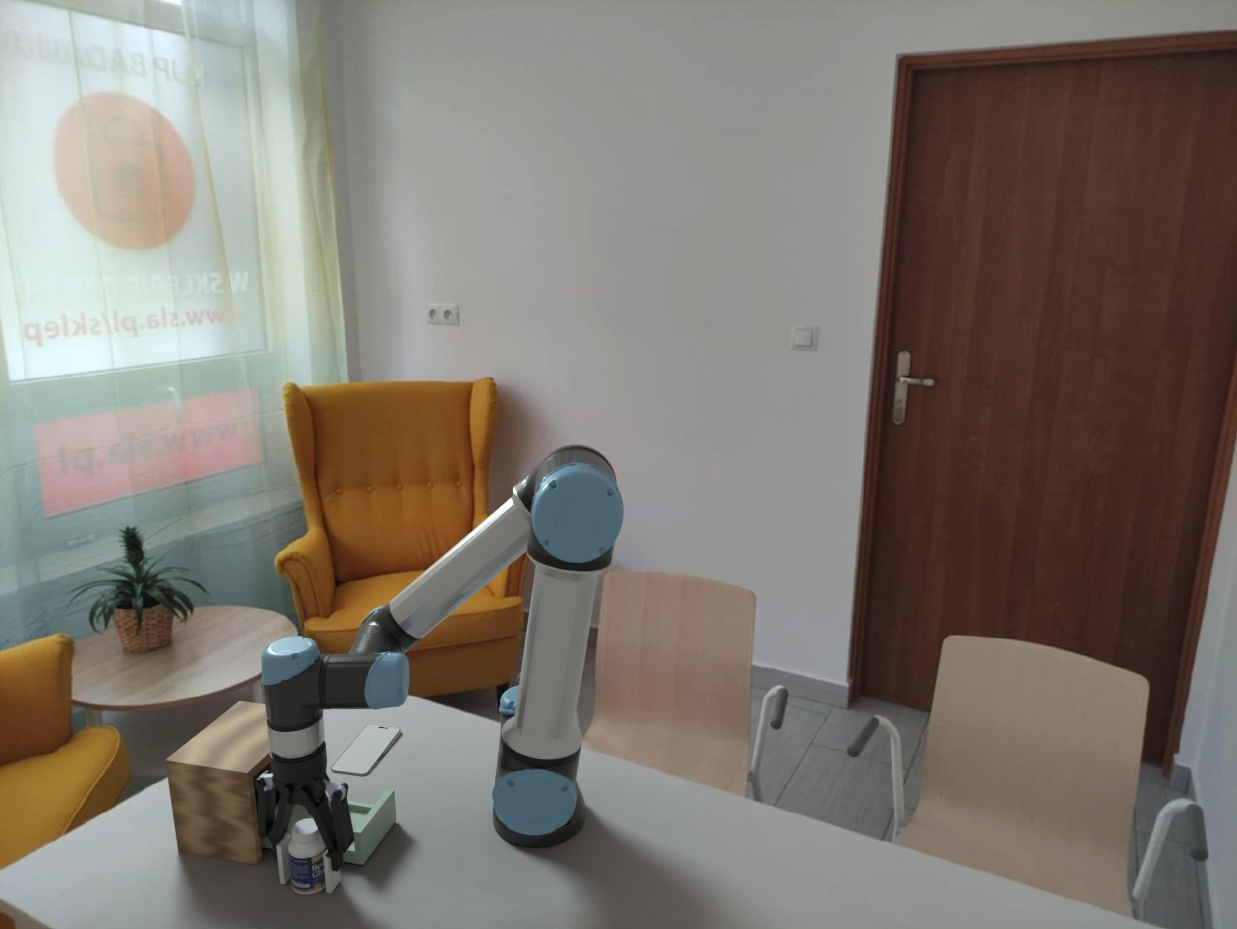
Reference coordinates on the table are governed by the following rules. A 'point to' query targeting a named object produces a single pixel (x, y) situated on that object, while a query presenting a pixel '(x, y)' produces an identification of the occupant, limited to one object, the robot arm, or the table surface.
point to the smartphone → (366, 750)
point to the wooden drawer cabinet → (221, 785)
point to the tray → (356, 825)
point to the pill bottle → (306, 858)
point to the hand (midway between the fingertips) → (310, 882)
